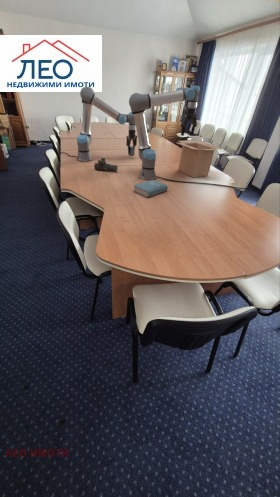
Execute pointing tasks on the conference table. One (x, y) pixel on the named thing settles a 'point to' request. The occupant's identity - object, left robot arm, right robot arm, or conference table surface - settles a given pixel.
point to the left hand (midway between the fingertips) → (131, 152)
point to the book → (150, 188)
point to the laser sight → (105, 166)
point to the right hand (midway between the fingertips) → (187, 135)
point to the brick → (132, 151)
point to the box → (196, 158)
